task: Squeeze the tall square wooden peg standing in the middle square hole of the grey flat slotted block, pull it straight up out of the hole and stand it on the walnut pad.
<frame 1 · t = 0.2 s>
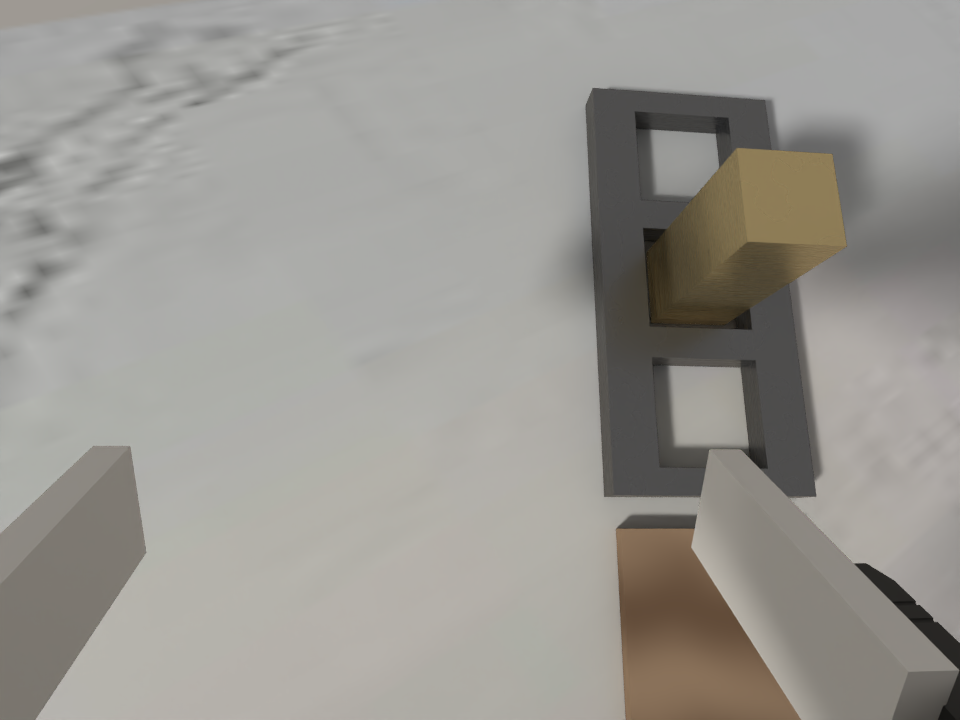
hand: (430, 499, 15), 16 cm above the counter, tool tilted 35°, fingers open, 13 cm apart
grey flat slotted block: (684, 288, 34), on the counter
walnut pad: (713, 627, 30), on the counter
square wooden peg: (729, 250, 30), in the grey flat slotted block
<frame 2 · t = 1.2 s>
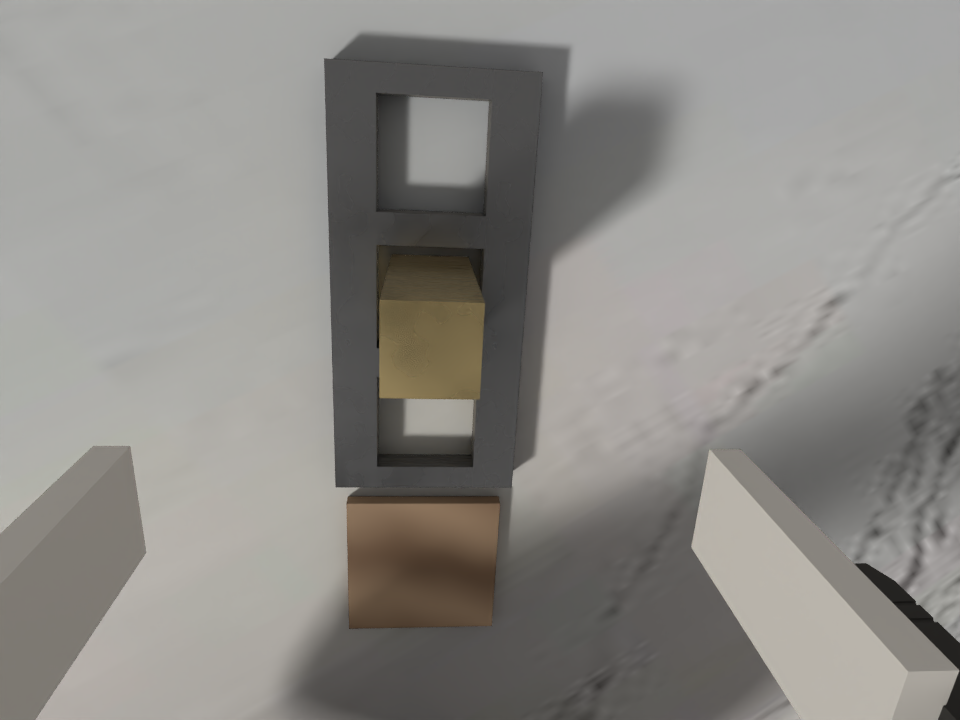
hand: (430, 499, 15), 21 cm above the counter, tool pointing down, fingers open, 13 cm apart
grey flat slotted block: (429, 292, 34), on the counter
walnut pad: (422, 559, 40), on the counter
square wooden peg: (430, 317, 30), in the grey flat slotted block
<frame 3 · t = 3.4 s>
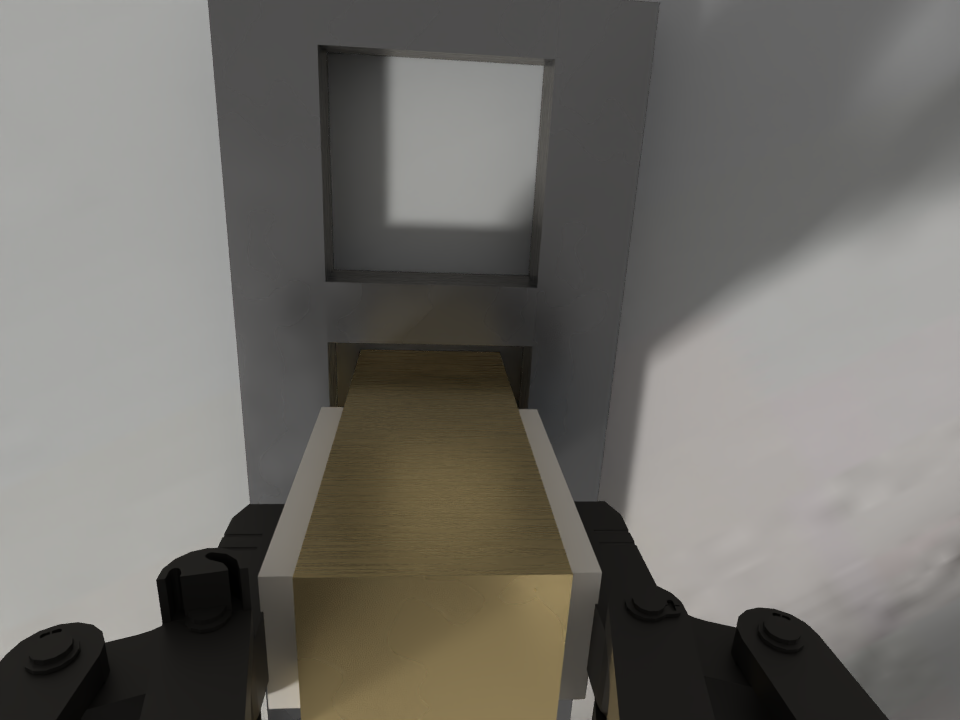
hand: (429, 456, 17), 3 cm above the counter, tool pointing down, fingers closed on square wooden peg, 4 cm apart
grey flat slotted block: (429, 414, 19), on the counter
square wooden peg: (430, 505, 14), in the grey flat slotted block, touching gripper
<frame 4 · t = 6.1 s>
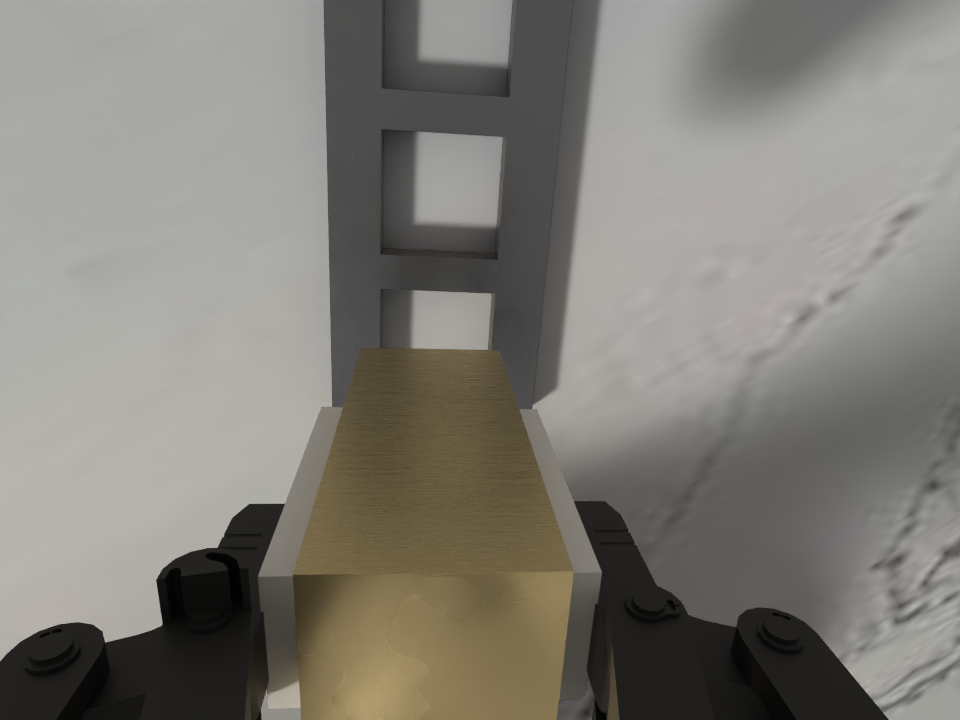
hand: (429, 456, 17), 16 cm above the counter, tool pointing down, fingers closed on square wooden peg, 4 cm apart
grey flat slotted block: (441, 193, 30), on the counter
square wooden peg: (430, 503, 14), point 18 cm above the counter, touching gripper
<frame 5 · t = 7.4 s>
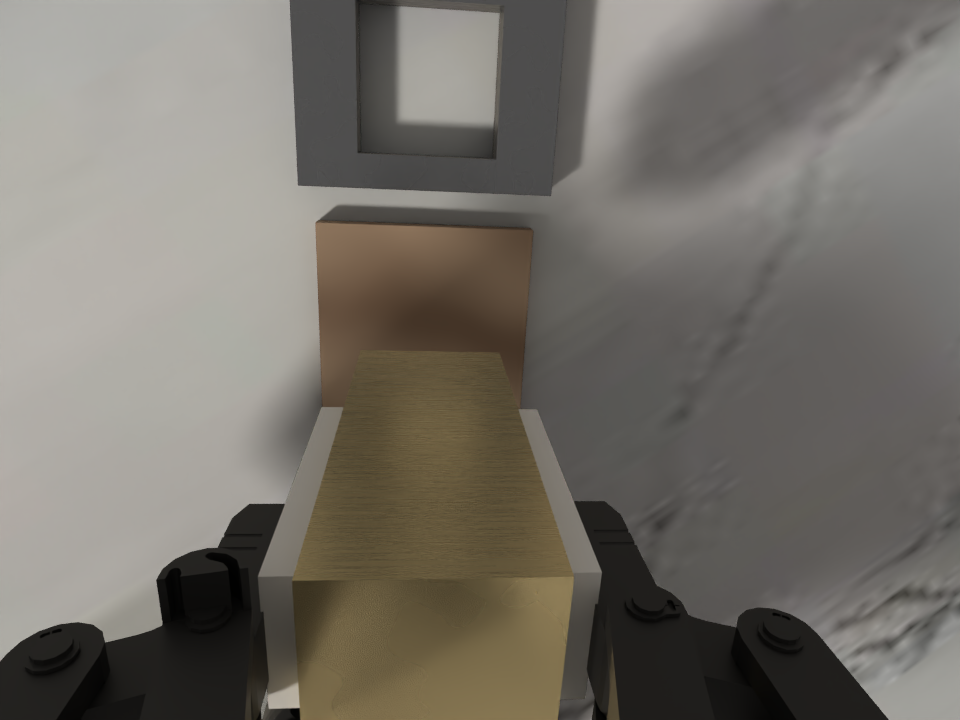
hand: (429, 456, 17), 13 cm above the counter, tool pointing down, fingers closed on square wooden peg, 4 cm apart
walnut pad: (424, 325, 29), on the counter
square wooden peg: (430, 506, 14), point 15 cm above the counter, touching gripper
when the fingers open (5 cm above the counter, at t = 8.7 s): square wooden peg drops 1 cm, resting on walnut pad.
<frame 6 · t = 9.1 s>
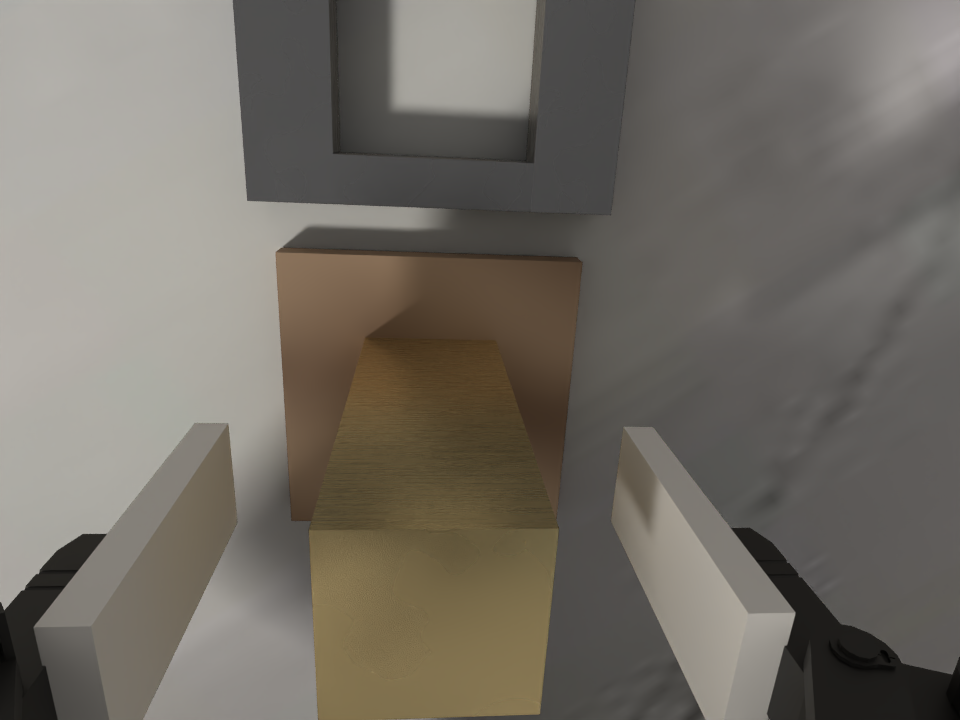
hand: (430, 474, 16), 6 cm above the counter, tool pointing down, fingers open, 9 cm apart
walnut pad: (429, 388, 21), on the counter
square wooden peg: (431, 479, 16), on the walnut pad, point 6 cm above the counter
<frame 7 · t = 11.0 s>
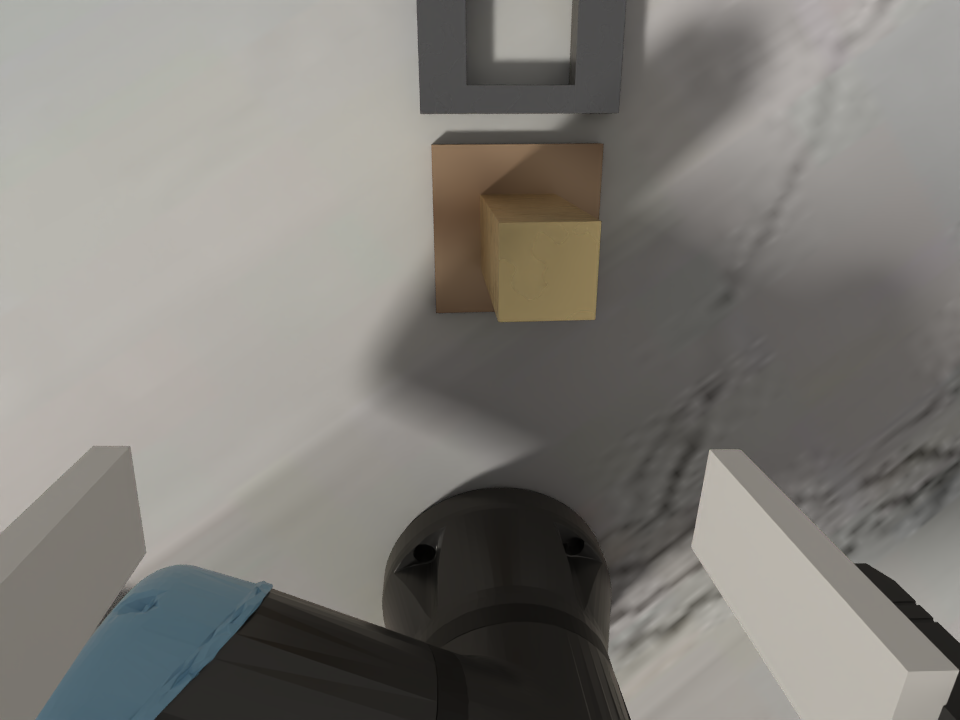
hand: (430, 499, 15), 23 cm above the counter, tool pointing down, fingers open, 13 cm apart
walnut pad: (514, 229, 36), on the counter
square wooden peg: (530, 249, 30), on the walnut pad, point 6 cm above the counter
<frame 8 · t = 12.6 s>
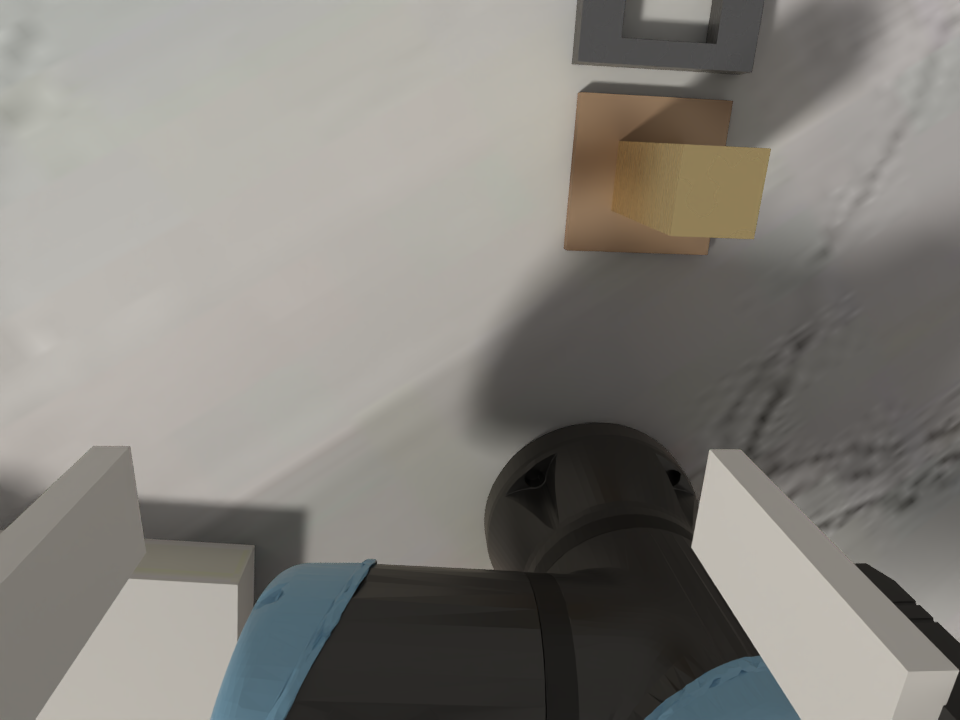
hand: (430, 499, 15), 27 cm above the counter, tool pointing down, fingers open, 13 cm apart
walnut pad: (643, 176, 39), on the counter
disc drive: (139, 656, 49), on the counter
square wooden peg: (678, 184, 34), on the walnut pad, point 6 cm above the counter
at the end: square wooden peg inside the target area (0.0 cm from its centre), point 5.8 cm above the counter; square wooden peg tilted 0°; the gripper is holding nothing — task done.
